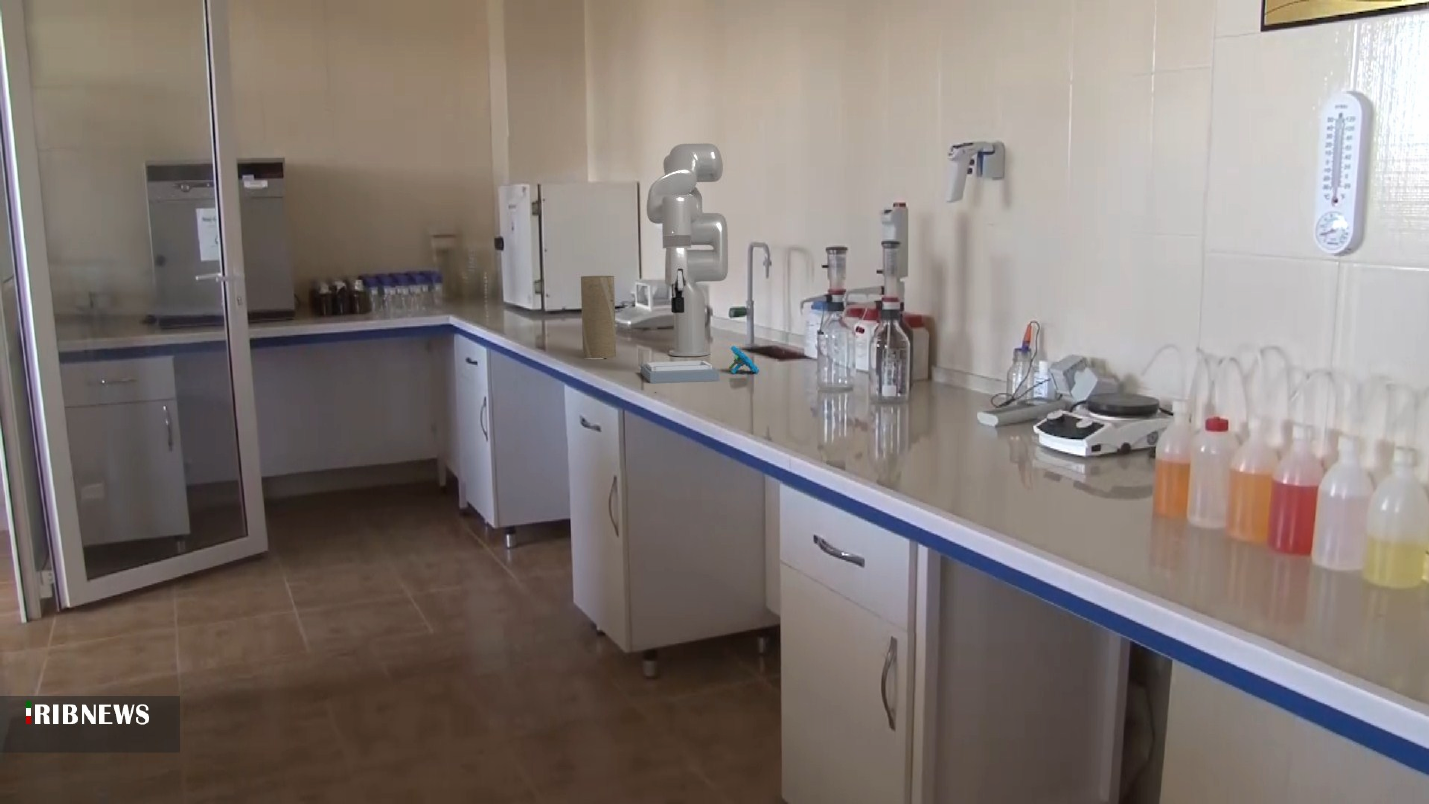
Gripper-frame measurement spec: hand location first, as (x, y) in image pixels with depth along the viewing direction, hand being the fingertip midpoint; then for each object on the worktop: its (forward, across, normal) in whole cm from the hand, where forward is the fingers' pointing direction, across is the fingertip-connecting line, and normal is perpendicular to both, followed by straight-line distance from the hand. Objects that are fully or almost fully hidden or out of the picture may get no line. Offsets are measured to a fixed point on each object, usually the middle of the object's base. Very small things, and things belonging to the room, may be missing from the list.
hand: (677, 312), depth 304 cm
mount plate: (+17, 0, 0) cm, 17 cm away
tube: (+17, -47, -17) cm, 53 cm away
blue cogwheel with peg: (+18, -2, +21) cm, 28 cm away
